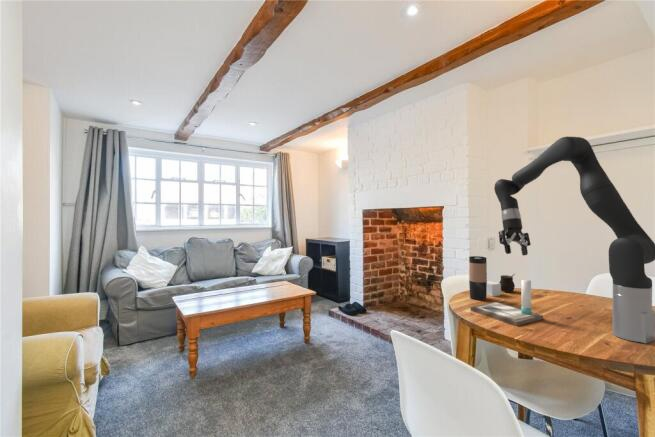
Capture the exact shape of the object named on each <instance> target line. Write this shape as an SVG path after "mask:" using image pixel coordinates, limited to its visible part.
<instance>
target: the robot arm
mask: <svg viewBox="0 0 655 437" xmlns="http://www.w3.org/2000/svg"><path fill="white" fill-rule="evenodd" d="M564 161H565V162H570V163H572V165H573V166H574V168H575V169H576V171H577V173H578V176H579V191H580V194H581V197H582V199H583V200H584V202H585V204H586V205H587V207H588V209H590V211H591V212H592V213H593V214H594V215H595V216H597V217H598V218H599V219H600V220H601V221H602V222H604V223H605V224H606V225H607V226H609V228H610V229H611V230H612V231H613V233H614V235H615V236H616V239H614V240H613V241H611V243H610V245H609V247H608V266H609V267H608V268H609V269H608V270H609V274H610V277H611V278H612V316H611V317H612V319H611V320H612V326H611V327H612V335H614V337H618V338H620V339H623V340H627V341H631V342H636V343H642V344H648V343H651V342H654V341H655V310H653V280H652V278H650V277H648V275H647V274H646V272H645V265H647V264H650V263H652V262H654V261H655V242H654V240H652V238H651V236H650V235H649V234H647V232H646V231H645V230H644V228H642V226H641V224H639V223H638V222H639V221H637V220H636V218H635V217H634V215H633V214H632V212H631V211H630V209H629V207H628V206H627V204H626V203H625V201H624V199H623V197H622V196H621V194H620V192H619V191H618V190H617V188H616V186H615V185H614V184H613V182H612V181H611V180H610V178H609V176H608V174H607V173H606V171H605V170H604V168H603V166H601V164H600V162H599V160H598V158H597V156H596V153H595V152H594V149H593V147H592V145H591V143H590V141H588V140H587V139H586V138H583V137H580V136H562V137H560V138H559V139H557V140H555V141H554V142H553V143H552V144H551V145H550V146H549V147H547V149H546V150H544V151H543V152H542V153H541V154H539V155H538V156H537V157H536V158H535V159H534V160H532V161H531V162H529V163H527V165H526V166H523V167H522V168H520V169H519V170H518V171H516V172H514V173H513V174H512V176H511V180H510V179H506V178H505V179H504V178H500V179H498V180H497V181H496V182H495V184H494V187H493V188H494V190H493V191H494V193H495V195H496V198H497V199H498V200H497V201H498V202H499V203H500V210H501V221H502V228H503V229H502V230H499V231H498V238H499V244H500V245H503V246H504V252H505V254H506V255H508V254H509V255H510V254H512V249H511V245H510V244H511V243H512V242H515V243H517V244H519V246H520V250H521V254H522V256H527V255H528V254H529V252H528V247H530V246H531V245H532V244H531V241H530V240H531V239H530V236H529V235H530V234H529V233H528V232H523V231H522V229H523V222H522V216H521V213H520V209H519V201H518V200H517V198H515V197H514V195H516V194H518V193H519V192H521V190H522V189H523V188H524V187H525V186H526V185H529V184H530V183H533V181H535V180H536V179H538V178H539V177H540V176H541V175H542V174H543V173H544V171H545V170H546V169H547V168H549V167H551V166H552V165H554V164H558V163H559V162H564Z"/></svg>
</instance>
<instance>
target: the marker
mask: <svg viewBox="0 0 655 437" xmlns="http://www.w3.org/2000/svg"><path fill="white" fill-rule="evenodd" d="M520 282H521V284H520V286H521V287H520V288H521V289H520V290H521V295H520V296H521V298H520V300H521V301H520V302H521V304H520V309H521V313H522V314H526V315H531V312H532V280H529V279H521V281H520Z"/></svg>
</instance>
